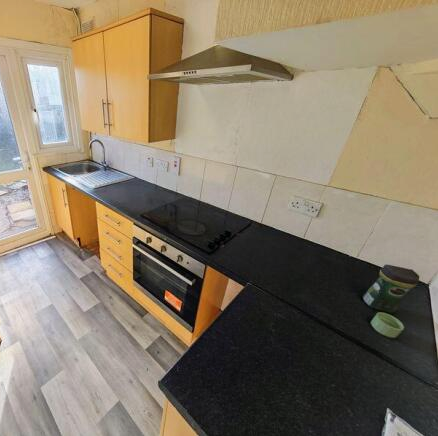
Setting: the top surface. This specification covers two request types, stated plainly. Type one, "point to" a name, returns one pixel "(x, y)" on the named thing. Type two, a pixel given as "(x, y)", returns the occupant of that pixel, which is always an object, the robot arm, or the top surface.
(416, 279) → the coffee jar
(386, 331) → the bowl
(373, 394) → the top surface
